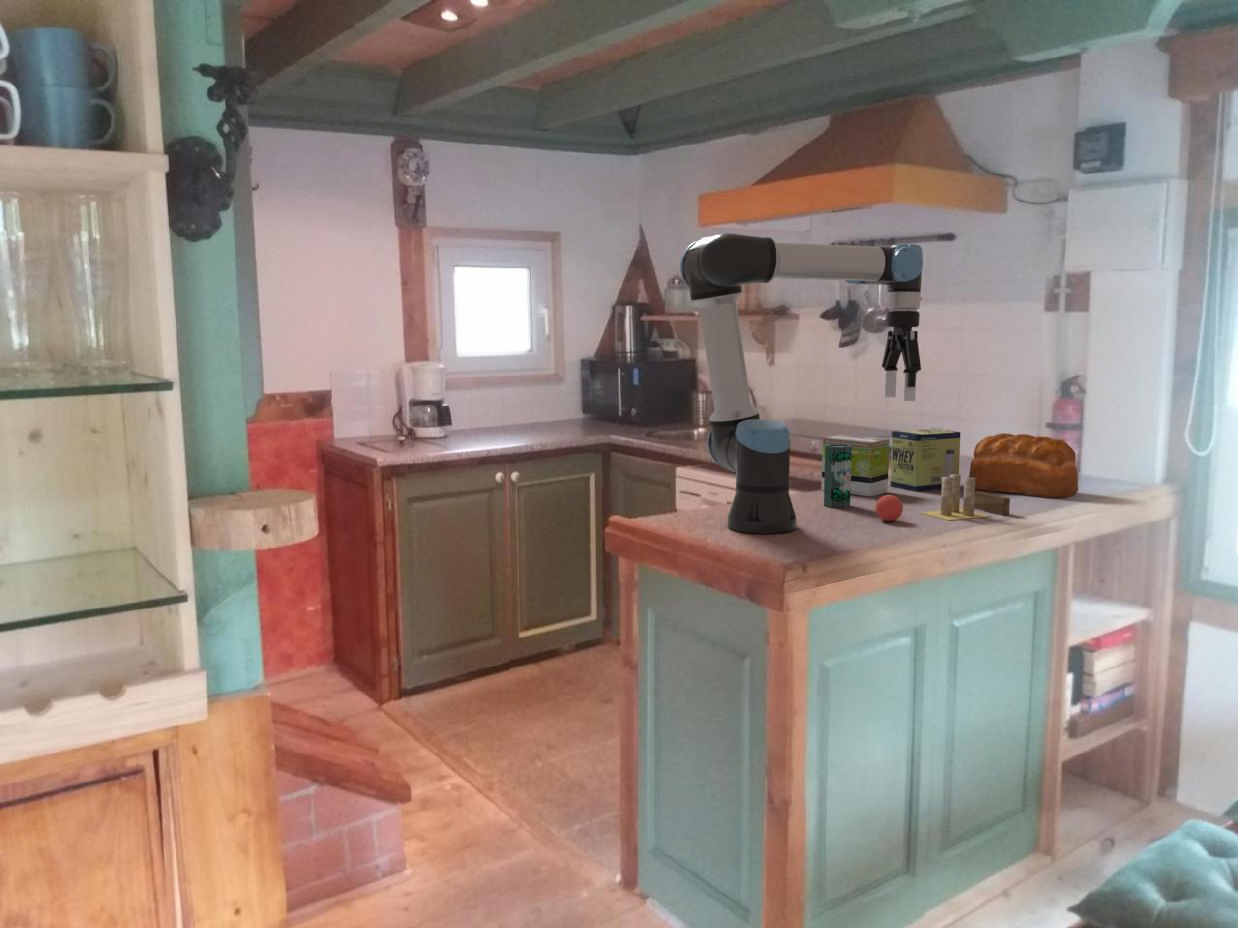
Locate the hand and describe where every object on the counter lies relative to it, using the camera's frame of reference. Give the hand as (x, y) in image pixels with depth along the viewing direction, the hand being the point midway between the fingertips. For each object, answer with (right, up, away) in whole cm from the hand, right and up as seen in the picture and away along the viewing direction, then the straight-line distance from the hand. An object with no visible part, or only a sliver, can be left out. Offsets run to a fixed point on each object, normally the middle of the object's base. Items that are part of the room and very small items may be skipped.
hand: (899, 399), depth 236 cm
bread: (+40, -23, +24) cm, 52 cm away
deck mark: (+11, -28, -8) cm, 31 cm away
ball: (-6, -26, -15) cm, 30 cm away
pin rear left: (+12, -27, -5) cm, 30 cm away
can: (-14, -26, +5) cm, 30 cm away
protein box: (+16, -22, +32) cm, 43 cm away
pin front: (+9, -28, -9) cm, 30 cm away
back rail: (+21, -27, -4) cm, 34 cm away
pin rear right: (+13, -28, -9) cm, 32 cm away
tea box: (-5, -23, +26) cm, 35 cm away
